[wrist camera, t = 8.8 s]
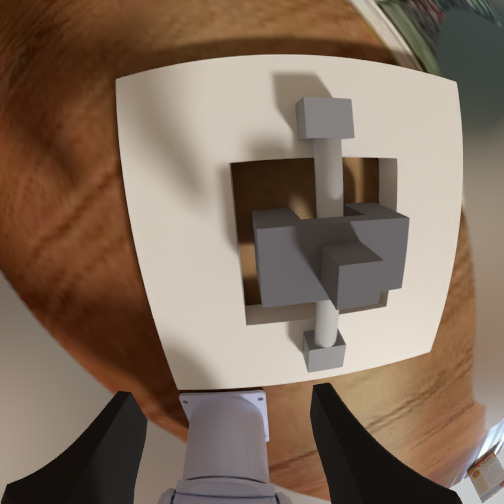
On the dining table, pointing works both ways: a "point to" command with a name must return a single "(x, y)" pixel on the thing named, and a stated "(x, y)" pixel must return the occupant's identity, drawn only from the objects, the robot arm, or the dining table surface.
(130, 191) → the white slotted board
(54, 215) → the dining table surface
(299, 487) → the dining table surface
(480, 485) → the cracker box
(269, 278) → the grey notched block
